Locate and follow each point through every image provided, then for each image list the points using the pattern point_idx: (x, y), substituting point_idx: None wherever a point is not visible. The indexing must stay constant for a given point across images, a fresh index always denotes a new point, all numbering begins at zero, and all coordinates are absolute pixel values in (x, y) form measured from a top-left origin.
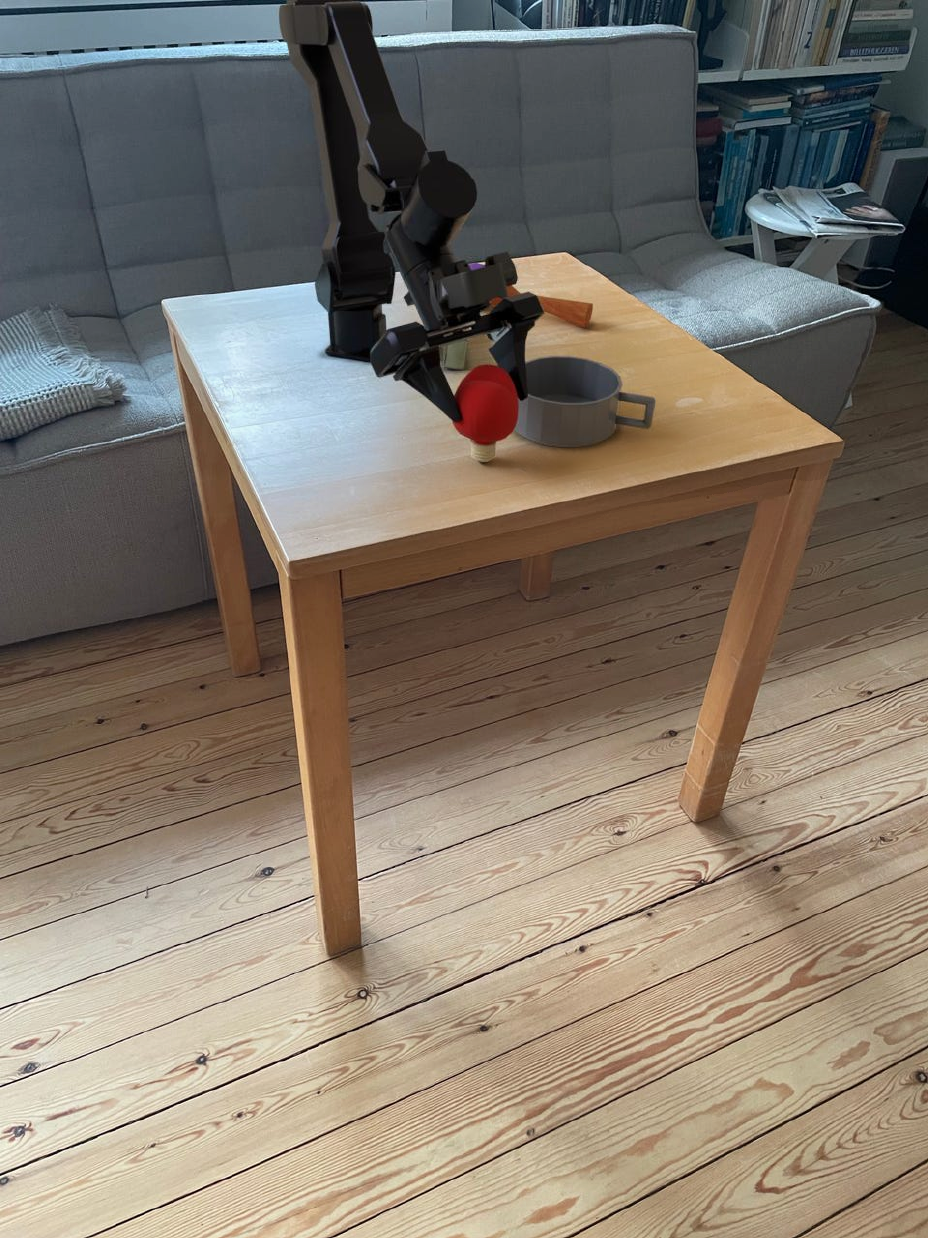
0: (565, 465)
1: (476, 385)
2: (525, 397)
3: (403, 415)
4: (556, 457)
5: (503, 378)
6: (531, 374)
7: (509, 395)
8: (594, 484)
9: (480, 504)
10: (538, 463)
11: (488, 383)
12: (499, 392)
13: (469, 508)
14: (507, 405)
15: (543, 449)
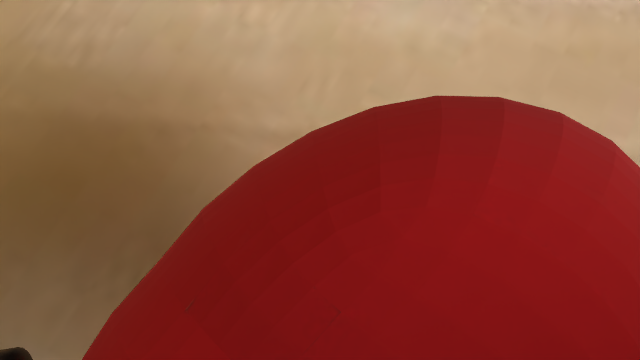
0: (44, 183)
1: (619, 297)
2: (20, 349)
3: None
4: (35, 257)
5: None
6: None
7: (233, 210)
8: (37, 14)
9: (512, 78)
10: (134, 248)
11: (454, 281)
12: (371, 155)
13: (565, 72)
14: (307, 135)
15: (41, 346)
